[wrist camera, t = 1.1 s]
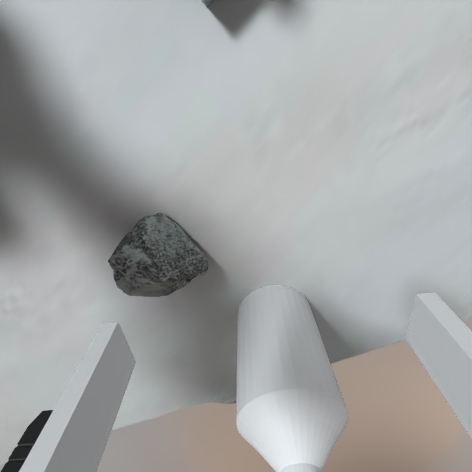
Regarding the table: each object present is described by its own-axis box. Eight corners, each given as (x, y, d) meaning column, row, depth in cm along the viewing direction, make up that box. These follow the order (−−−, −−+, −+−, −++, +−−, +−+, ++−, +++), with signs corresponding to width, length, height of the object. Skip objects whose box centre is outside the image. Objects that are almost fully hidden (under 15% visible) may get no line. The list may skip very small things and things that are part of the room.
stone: (184, 271, 28) (97, 300, 30) (216, 287, 37) (148, 308, 39) (169, 191, 32) (92, 220, 33) (201, 223, 41) (140, 245, 42)
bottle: (243, 344, 48) (250, 567, 26) (229, 290, 42) (221, 517, 20) (314, 334, 47) (383, 559, 25) (308, 277, 41) (392, 503, 19)
